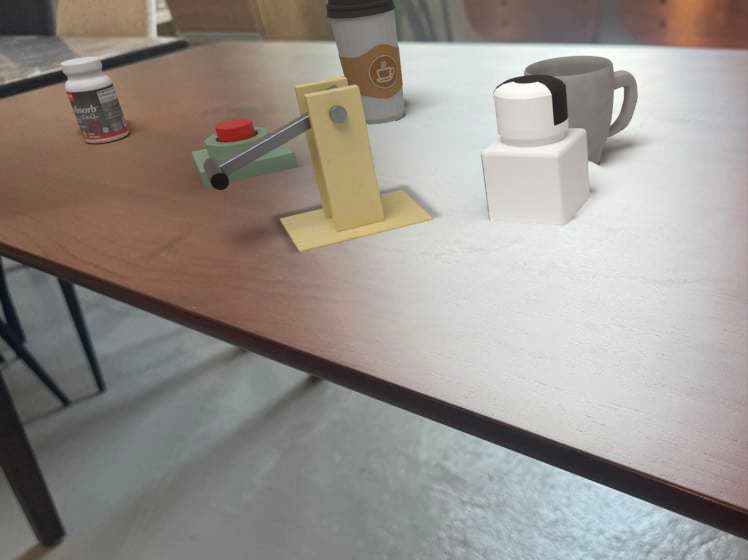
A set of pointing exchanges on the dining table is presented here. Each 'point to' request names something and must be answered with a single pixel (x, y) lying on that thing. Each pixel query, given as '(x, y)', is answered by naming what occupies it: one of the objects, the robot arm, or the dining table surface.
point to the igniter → (264, 165)
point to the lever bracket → (344, 173)
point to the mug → (591, 96)
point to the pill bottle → (94, 101)
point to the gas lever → (254, 151)
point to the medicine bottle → (535, 155)
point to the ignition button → (235, 130)
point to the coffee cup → (370, 55)
